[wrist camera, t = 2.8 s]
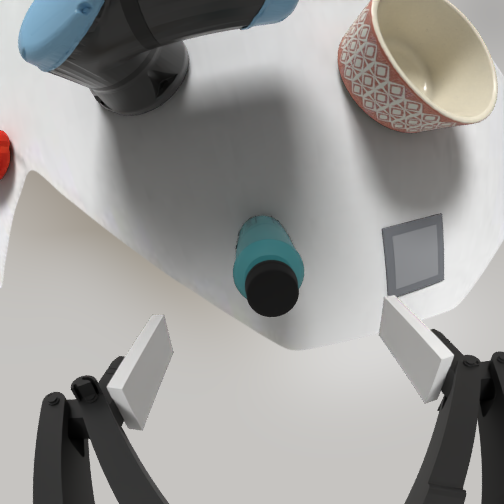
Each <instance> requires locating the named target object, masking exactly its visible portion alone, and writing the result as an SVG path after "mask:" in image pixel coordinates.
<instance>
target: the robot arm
mask: <svg viewBox="0 0 504 504" xmlns="http://www.w3.org/2000/svg"><path fill="white" fill-rule="evenodd" d="M298 1H299V0H34V2H33V3H32V5H31V6H30V8H29V10H28V11H27V13H26V15H25V17H24V20H23V22H22V25H21V29H20V32H19V38H18V47H19V51H20V54H21V56H22V57H23V59H24V60H25V61H27V62H29V63H31V64H33V65H35V66H37V67H38V68H39V69H41V70H42V71H44V72H49V73H52V74H54V75H57V76H60V77H63V78H65V79H68V80H71V81H73V82H76V83H78V84H81V85H83V86H86V87H88V88H89V89H90V91H91V92H92V94H93V95H94V97H95V99H96V100H97V101H98V102H99V104H100V105H102V106H103V107H104V108H106V109H108V110H110V111H112V112H115V113H117V114H121V115H138V114H142V113H146V112H148V111H151V110H153V109H155V108H157V107H158V106H160V105H161V104H163V103H164V102H165V101H167V100H168V99H169V98H170V97H171V96H172V95H173V94H174V93H175V92H176V90H177V89H178V88H179V86H180V85H181V83H182V81H183V79H184V77H185V75H186V72H187V68H188V52H187V49H186V46H185V44H184V42H183V40H187V39H191V38H195V37H199V36H203V35H208V34H213V33H218V32H223V31H228V30H234V29H240V30H246V29H249V28H251V27H252V26H259V25H266V24H273V23H278V22H281V21H283V20H284V19H285V18H287V17H288V16H289V15H290V14H291V13H292V12H293V11H294V9H295V7H296V5H297V3H298ZM379 336H380V337H381V339H382V340H383V342H384V343H385V344H386V346H387V347H388V349H389V350H390V352H391V353H392V355H393V356H394V357H395V359H396V361H397V362H398V363H399V365H400V366H401V368H402V369H403V371H404V372H405V374H406V375H407V377H408V378H409V380H410V381H411V383H412V384H413V386H414V388H415V389H416V391H417V392H418V394H419V395H420V397H421V398H422V400H423V402H424V403H428V402H431V401H434V400H437V398H438V396H439V394H440V391H442V392H443V394H444V397H443V400H442V402H441V404H440V406H439V408H438V411H439V410H440V411H439V415H438V418H437V422H436V425H435V428H434V432H433V435H432V438H431V441H430V444H429V447H428V450H427V453H426V455H425V458H424V461H423V463H422V466H421V468H420V471H419V473H418V476H417V478H416V480H415V483H414V485H413V487H412V489H411V491H410V493H409V496H408V498H407V500H406V502H405V504H464V501H465V497H466V491H465V490H463V485H464V481H465V478H466V474H467V470H468V466H469V462H470V458H471V453H472V448H473V443H474V437H475V432H476V424H477V418H478V425H479V433H480V443H481V457H482V504H504V352H495V353H494V354H493V355H492V358H491V360H490V361H485V362H480V360H479V359H478V358H476V357H475V356H472V355H463V354H462V353H461V352H460V351H459V350H458V349H457V348H456V347H455V346H454V345H453V344H452V343H450V341H449V340H448V339H446V337H445V336H444V335H443V334H442V333H441V332H439V331H437V330H435V329H432V330H430V329H429V328H428V327H427V326H426V325H425V324H424V323H423V322H422V321H421V320H420V319H419V318H418V317H417V316H416V315H415V314H414V313H413V312H412V311H411V310H410V309H409V308H408V307H407V306H405V305H404V304H403V303H402V302H401V301H400V300H399V299H398V298H397V297H396V296H395V295H392V296H385V297H384V301H383V309H382V317H381V324H380V331H379ZM172 355H173V348H172V345H171V341H170V337H169V333H168V329H167V325H166V321H165V317H164V315H152V316H151V318H150V319H149V320H148V322H147V324H146V325H145V327H144V328H143V330H142V331H141V333H140V334H139V336H138V338H137V339H136V341H135V342H134V344H133V345H132V347H131V348H130V350H129V351H128V353H127V355H126V356H125V357H122V356H119V357H118V358H116V359H115V360H114V361H113V362H112V363H111V364H110V366H109V368H108V369H107V370H106V372H105V374H104V375H103V377H102V378H101V380H100V381H99V383H98V382H97V380H96V379H95V378H94V377H92V376H87V375H86V376H81V377H79V378H77V379H76V380H75V381H73V383H72V385H71V390H72V392H73V394H74V395H75V397H76V399H75V400H66V398H65V396H64V395H63V394H62V393H60V392H53V393H50V394H48V395H47V396H46V397H45V398H44V400H43V402H42V407H41V412H40V418H39V425H38V432H37V440H36V449H35V460H34V477H33V504H95V501H94V495H93V488H92V480H91V471H90V461H89V447H88V439H90V440H91V442H92V445H93V448H94V450H95V452H96V455H97V458H98V460H99V463H100V465H101V467H102V469H103V472H104V474H105V476H106V478H107V480H108V482H109V485H110V487H111V489H112V491H113V493H114V495H115V497H116V499H117V501H118V502H119V504H169V503H168V502H167V500H166V499H165V498H164V496H163V495H162V493H161V492H160V490H159V489H158V488H157V486H156V485H155V483H154V482H153V480H152V479H151V477H150V476H149V474H148V472H147V471H146V469H145V468H144V466H143V464H142V463H141V461H140V459H139V458H138V456H137V454H136V452H135V451H134V449H133V447H132V446H131V444H130V442H129V440H128V438H127V436H126V434H125V432H124V431H123V429H122V427H121V426H122V424H123V422H125V423H126V425H127V427H128V428H129V429H136V430H143V428H144V426H145V423H146V420H147V418H148V415H149V412H150V410H151V407H152V405H153V402H154V399H155V397H156V394H157V392H158V389H159V387H160V384H161V382H162V379H163V377H164V374H165V371H166V369H167V367H168V364H169V362H170V359H171V357H172Z"/></svg>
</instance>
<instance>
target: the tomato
mask: <svg viewBox="0 0 504 504" xmlns="http://www.w3.org/2000/svg"><path fill="white" fill-rule="evenodd" d="M9 147H10V142H9V137H8V136H7V134H6V133H5V132H4V131H1V130H0V180H1V179H2V177H3V176H4V175H5V173H6V171H7V169H8V166H9V162H10V151H9Z"/></svg>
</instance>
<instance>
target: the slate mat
mask: <svg viewBox="0 0 504 504" xmlns="http://www.w3.org/2000/svg"><path fill="white" fill-rule="evenodd" d="M382 235H383V244H384V253H385V264H386V276H387V292H388V296H392V295H395V296H396V297H398V296H401V295H404V294H407V293H410V292H412V291H415V290H418V289H421V288H424V287H426V286H429V285H432V284H434V283H437V282H440V281H442V280H444V239H443V222H442V214H441V213H440V214H437V215H433V216H429V217H425V218H421V219H418V220H414V221H410V222H406V223H402V224H398V225H394V226H390V227H387V228H383V229H382Z"/></svg>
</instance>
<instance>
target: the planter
mask: <svg viewBox="0 0 504 504" xmlns="http://www.w3.org/2000/svg"><path fill="white" fill-rule="evenodd" d="M338 66H339V71H340V74H341V78H342V80H343V82H344V84H345V87H346V89H347V90H348V92H349V93H350V95H351V97H352V98H353V99H354V101H355V102H356V103H357V104H358V106H359V107H360V108H361V109H362V110H363V111H364V112H365V113H366V114H368V115H369V116H370V117H371V118H372V119H374V120H375V121H377V122H378V123H380V124H382V125H383V126H385V127H388V128H390V129H392V130H396V131H399V132H405V133H417V132H423V131H428V130H434V129H440V128H447V127H453V126H460V125H468V124H474V123H479V122H481V121H483V120H484V119H486V118H487V117H488V116H489V115H490V114H491V112H492V110H493V109H494V107H495V103H496V100H497V93H498V83H497V76H496V71H495V67H494V63H493V60H492V58H491V55H490V53H489V51H488V49H487V46H486V44H485V43H484V41H483V39H482V37H481V36H480V34H479V33H478V31H477V30H476V29H475V27H474V26H473V25H472V23H471V22H470V21H469V20H468V19H467V18H466V16H465V15H464V14H463V13H462V12H460V11H459V10H458V9H457V8H456V7H455V6H454V5H453V4H451V3H450V2H449V1H448V0H370V2H369V3H368V4H367V5H366V7H365V8H364V9H363V11H362V12H361V13H360V15H359V16H358V18H357V19H356V20H355V22H354V23H353V24H352V26H351V27H350V28H349V30H348V31H347V33H346V34H345V35H344V37H343V38H342V41H341V43H340V45H339V50H338Z"/></svg>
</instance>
